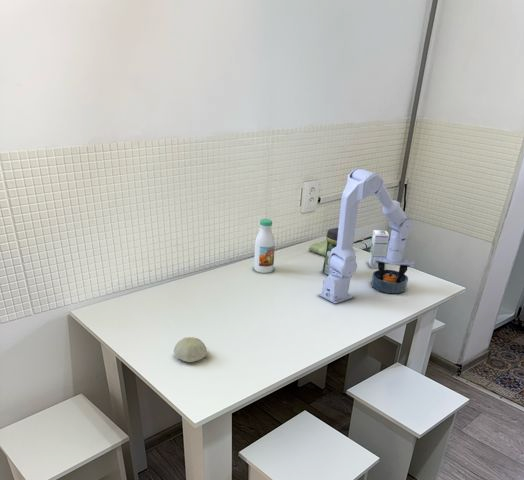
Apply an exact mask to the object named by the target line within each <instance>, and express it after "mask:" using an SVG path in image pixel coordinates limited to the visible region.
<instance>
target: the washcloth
mask: <svg viewBox="0 0 524 480" xmlns="http://www.w3.org/2000/svg"><path fill="white" fill-rule="evenodd" d="M326 249H327V239H326V238H325V239H323V240H321V241H319V242H315V243H312V244H311V245H309V247H308V251H309V252H311V253H315V254H316V255H317V254H318V255H321V256H323V257H325V255H326Z"/></svg>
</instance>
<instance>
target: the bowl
mask: <svg viewBox="0 0 524 480" xmlns="http://www.w3.org/2000/svg"><path fill="white" fill-rule="evenodd" d="M387 273H392V274H394V275H396V277H398V274H399V270H395V269H387V268H384V273H383V276H384V275H385V274H387ZM408 282H409V276H408V275H406V273H405V274H404V275H403V276H402V278H401V279H400V281H399V283H392V282H386V281H382V280H380V272H379V269H377V270H374V271H373V272H372V276H371V283H370V285H371V287H372V288H374V289H375V290H376V291H379V292H383V293H387V294H399V293H404V292H405V291H406V290H407V287H408Z"/></svg>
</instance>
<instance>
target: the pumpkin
mask: <svg viewBox="0 0 524 480" xmlns="http://www.w3.org/2000/svg"><path fill="white" fill-rule="evenodd" d="M382 281H386V282H392V283H396V282H397V277H396V275H394V274H392V273H387V274H385V275H384V276H383V279H382Z"/></svg>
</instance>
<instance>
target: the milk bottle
mask: <svg viewBox="0 0 524 480" xmlns="http://www.w3.org/2000/svg"><path fill="white" fill-rule="evenodd" d="M259 227H260V228H259V231H258V233H257V235H256V237H255V241H254V258H253V261H254V262H253V269H254V271H255V272H258V273H261V274H268V273H271V272H273V270H274V265H275V264H274V263H275V248H276V247H275V246H276V243H275V242H276V241H275V236H274V234H273V231H272V227H273V220H272V219H271V218H262V219H260V220H259Z"/></svg>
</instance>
